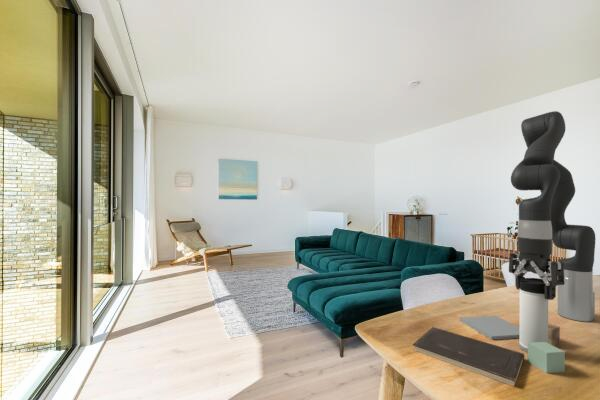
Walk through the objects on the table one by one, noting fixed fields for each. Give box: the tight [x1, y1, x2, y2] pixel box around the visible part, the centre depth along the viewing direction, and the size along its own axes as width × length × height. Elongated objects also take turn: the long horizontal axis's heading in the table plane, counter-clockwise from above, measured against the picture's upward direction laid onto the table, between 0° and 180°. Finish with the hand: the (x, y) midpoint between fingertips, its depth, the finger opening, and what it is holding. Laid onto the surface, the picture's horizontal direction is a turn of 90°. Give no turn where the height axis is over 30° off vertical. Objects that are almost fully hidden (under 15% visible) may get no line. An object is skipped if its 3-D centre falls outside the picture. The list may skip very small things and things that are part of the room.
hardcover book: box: [412, 326, 525, 387], centre depth 78 cm, size 16×23×2 cm
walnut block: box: [548, 322, 561, 347], centre depth 86 cm, size 5×5×5 cm
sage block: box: [527, 342, 566, 374], centre depth 73 cm, size 5×5×5 cm
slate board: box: [459, 315, 519, 340], centre depth 94 cm, size 14×14×1 cm
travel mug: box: [518, 277, 549, 353], centre depth 81 cm, size 6×7×20 cm
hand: (534, 294), depth 81 cm, fingers open, 8 cm apart
